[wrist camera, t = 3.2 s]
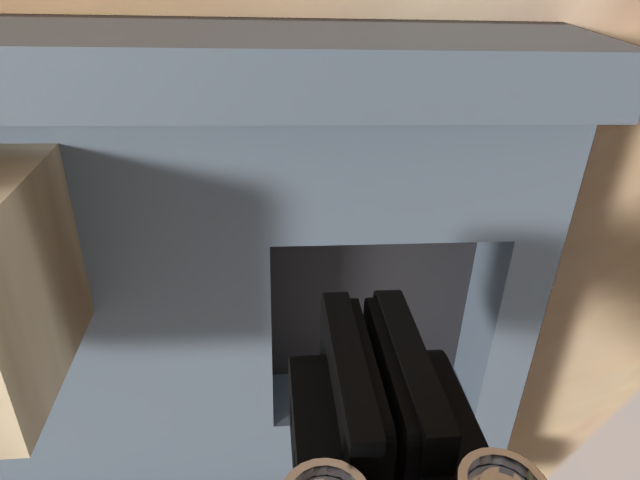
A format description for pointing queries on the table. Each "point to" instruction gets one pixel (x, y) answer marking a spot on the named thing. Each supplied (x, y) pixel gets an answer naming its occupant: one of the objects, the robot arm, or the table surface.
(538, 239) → the box
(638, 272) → the table surface
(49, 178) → the maple block
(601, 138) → the table surface
